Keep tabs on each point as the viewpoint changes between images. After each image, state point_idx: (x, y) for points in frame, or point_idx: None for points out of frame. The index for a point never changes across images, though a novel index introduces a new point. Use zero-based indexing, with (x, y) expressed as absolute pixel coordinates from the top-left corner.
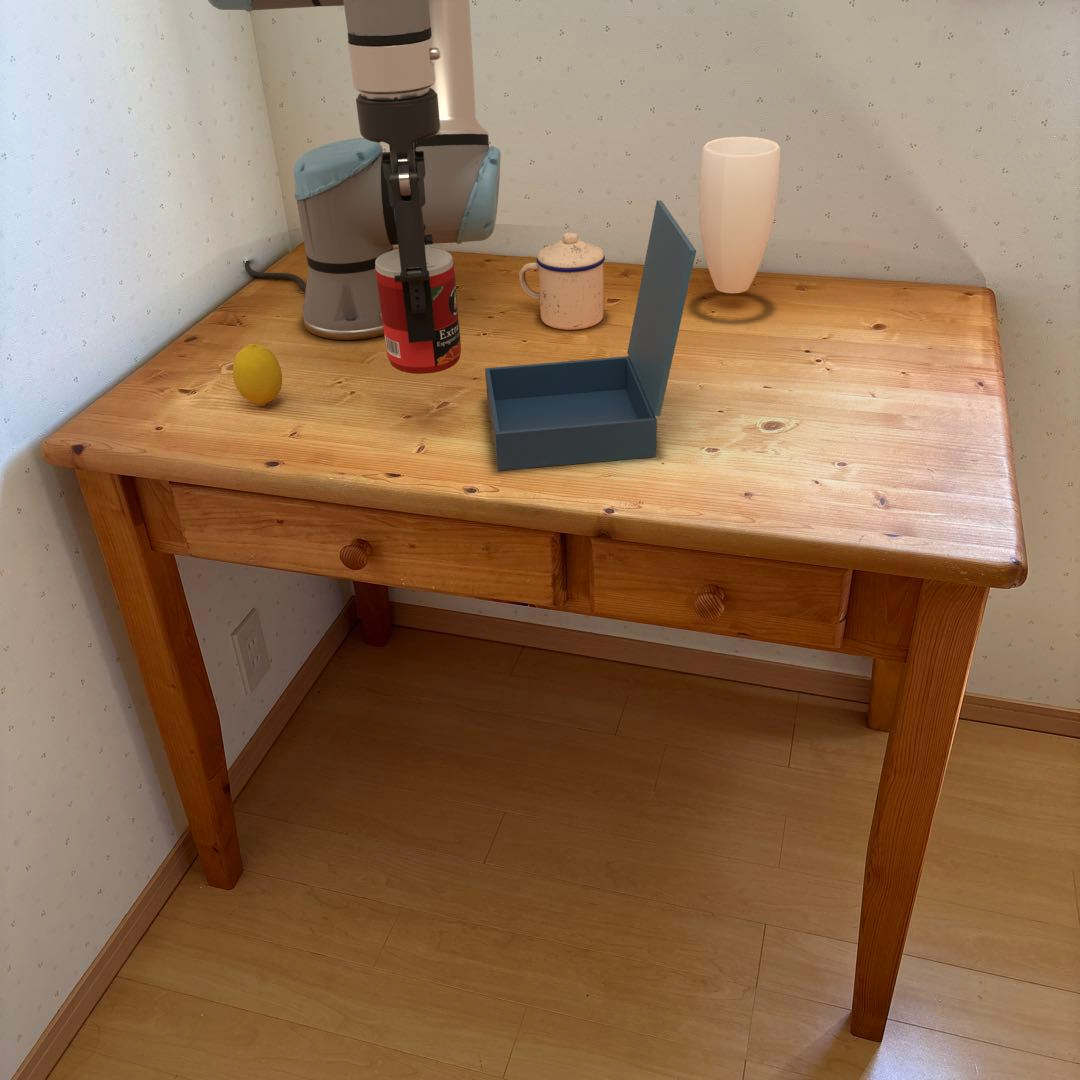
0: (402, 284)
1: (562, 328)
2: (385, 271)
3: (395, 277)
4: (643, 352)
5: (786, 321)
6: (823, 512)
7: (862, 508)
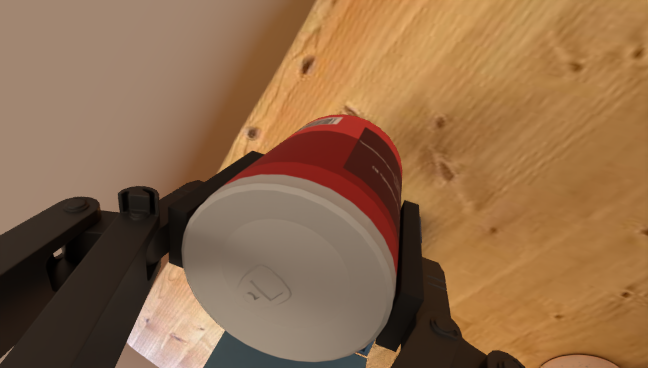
0: (175, 201)
1: (553, 359)
2: (221, 190)
3: (122, 193)
4: (300, 362)
5: None
6: (172, 311)
7: (172, 327)
